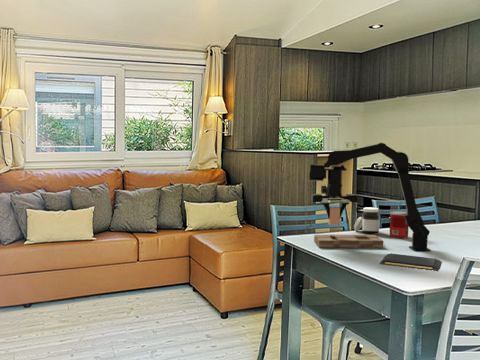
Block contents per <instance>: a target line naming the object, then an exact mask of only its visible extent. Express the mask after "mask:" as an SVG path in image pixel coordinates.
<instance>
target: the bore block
mask: <svg viewBox="0 0 480 360" xmlns="http://www.w3.org/2000/svg"><path fill="white" fill-rule="evenodd" d="M313 237H314V238H313V241H314V243H315V244H316V246H317V247H318V249H383V248H384V240H383V239H382V238H380V237H379V236H378V235H377V234H314V235H313Z"/></svg>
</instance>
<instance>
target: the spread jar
mask: <svg viewBox="0 0 480 360" xmlns="http://www.w3.org/2000/svg"><path fill="white" fill-rule="evenodd" d="M353 230H354V231H357V232H358V231H359V230H361V232H362V233H363V234H364V235H377V234H379V233H380V232H379V231H380V215H379V208H378V207H370V206H369V207H367V206H365V207H363V212H362V216H359V217H358V218H357V219H356V221H355V223H354V225H353Z"/></svg>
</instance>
